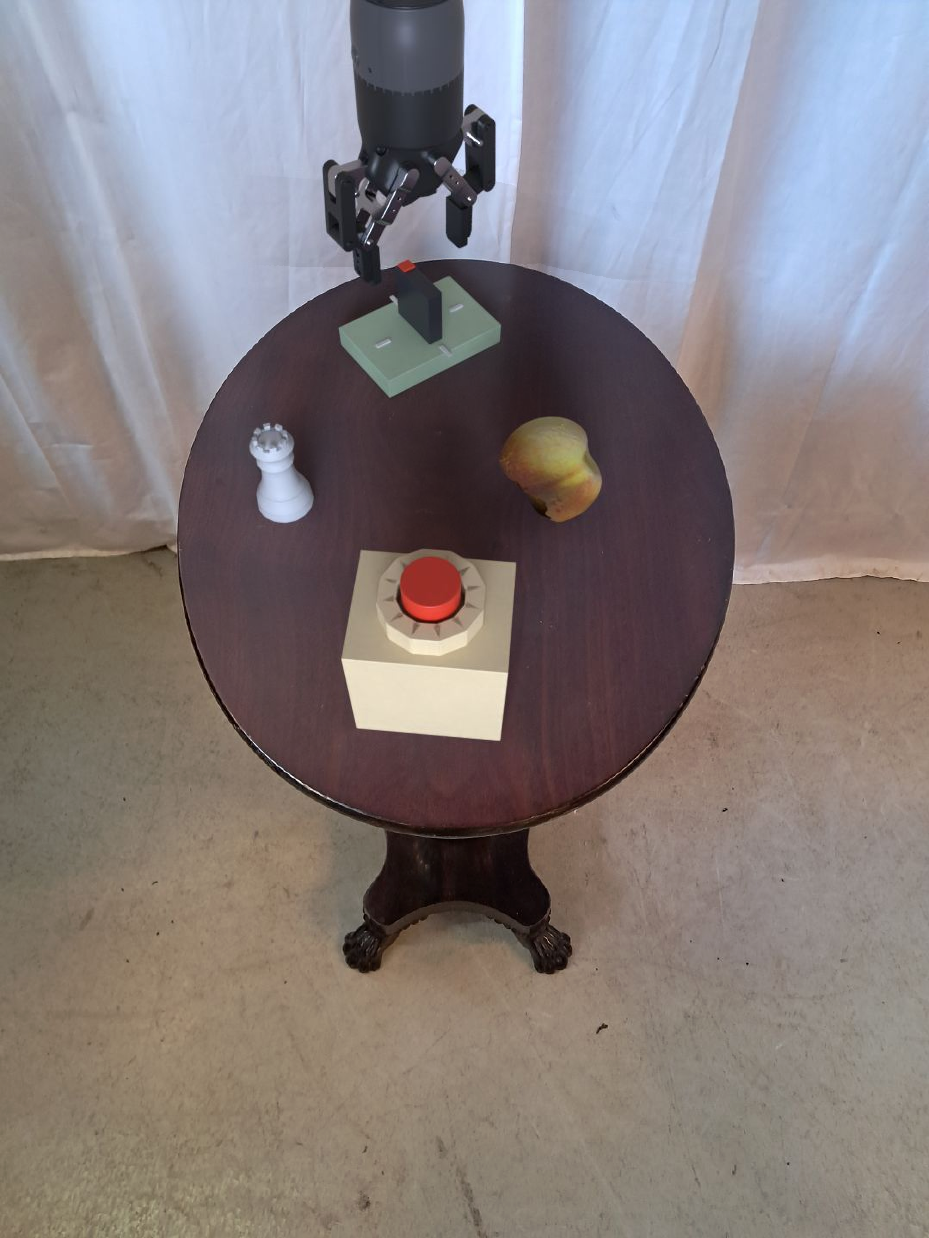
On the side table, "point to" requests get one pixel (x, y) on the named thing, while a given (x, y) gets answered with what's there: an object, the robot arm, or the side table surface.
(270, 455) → the rook chess piece
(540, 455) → the fruit
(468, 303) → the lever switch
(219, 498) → the side table surface
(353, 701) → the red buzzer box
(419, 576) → the red push button
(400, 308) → the black box
